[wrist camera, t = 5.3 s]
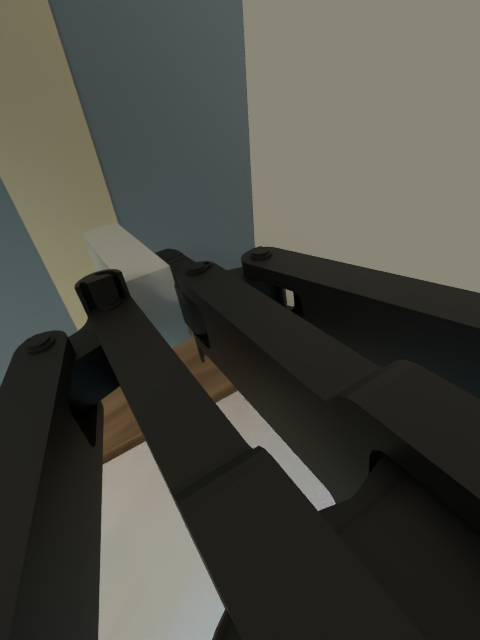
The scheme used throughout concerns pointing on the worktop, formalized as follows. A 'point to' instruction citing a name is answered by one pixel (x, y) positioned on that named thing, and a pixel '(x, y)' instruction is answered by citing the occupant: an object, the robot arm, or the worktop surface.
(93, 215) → the lid
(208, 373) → the walnut box
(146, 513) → the worktop surface
